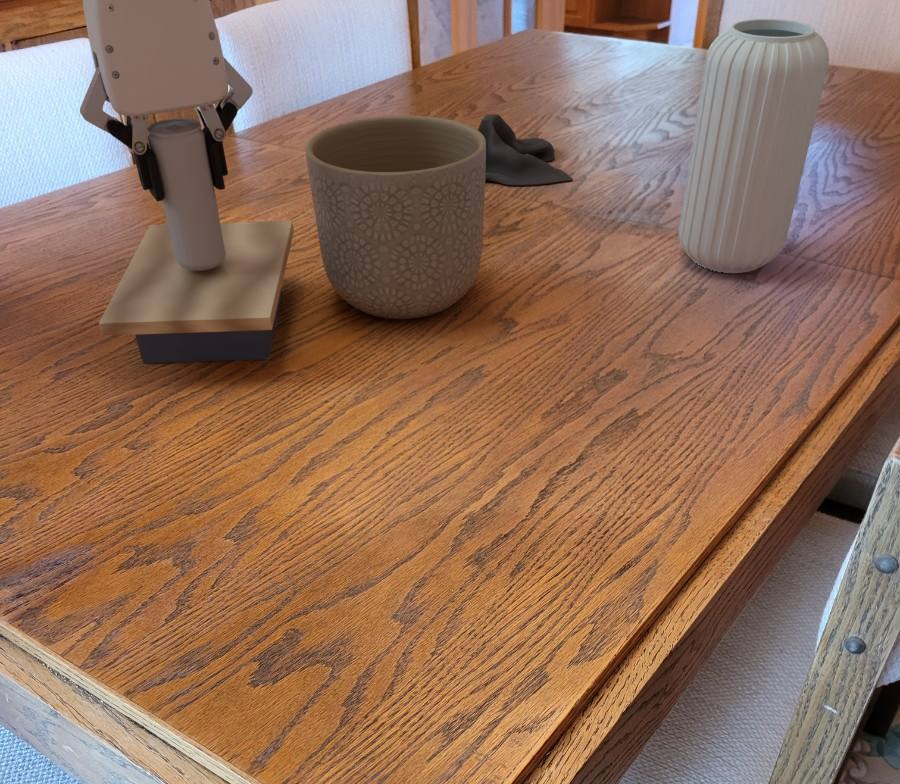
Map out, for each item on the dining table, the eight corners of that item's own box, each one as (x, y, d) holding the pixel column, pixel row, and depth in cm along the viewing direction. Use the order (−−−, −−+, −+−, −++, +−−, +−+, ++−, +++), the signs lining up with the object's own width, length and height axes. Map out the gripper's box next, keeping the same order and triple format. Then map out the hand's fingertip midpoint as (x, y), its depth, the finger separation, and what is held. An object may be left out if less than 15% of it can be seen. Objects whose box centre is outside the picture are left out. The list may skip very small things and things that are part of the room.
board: (102, 335, 79) (98, 323, 79) (152, 236, 95) (149, 225, 95) (272, 330, 80) (270, 317, 79) (294, 231, 96) (292, 220, 95)
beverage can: (212, 247, 89) (185, 114, 80) (237, 262, 86) (212, 126, 78) (167, 261, 87) (135, 125, 78) (191, 277, 84) (161, 138, 76)
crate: (143, 363, 86) (129, 314, 82) (170, 298, 96) (159, 251, 92) (269, 359, 86) (260, 309, 83) (283, 294, 96) (276, 247, 93)
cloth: (398, 180, 120) (396, 130, 116) (444, 137, 133) (443, 90, 129) (561, 196, 115) (564, 145, 111) (592, 150, 127) (596, 102, 123)
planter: (515, 310, 92) (520, 150, 82) (367, 352, 87) (352, 186, 76) (435, 252, 103) (431, 105, 93) (299, 287, 97) (277, 133, 87)
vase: (653, 257, 101) (685, 27, 86) (717, 230, 106) (759, 9, 91) (737, 291, 95) (788, 49, 79) (801, 260, 100) (861, 27, 84)
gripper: (228, -71, 74) (263, 162, 87) (13, -51, 69) (84, 194, 82) (257, -59, 69) (289, 187, 82) (28, -36, 64) (101, 222, 77)
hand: (186, 188), depth 82 cm, fingers closed on beverage can, 4 cm apart
